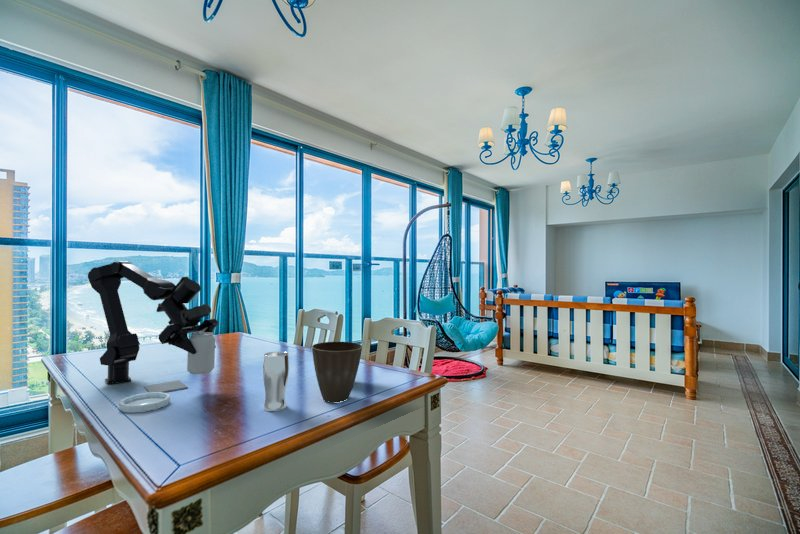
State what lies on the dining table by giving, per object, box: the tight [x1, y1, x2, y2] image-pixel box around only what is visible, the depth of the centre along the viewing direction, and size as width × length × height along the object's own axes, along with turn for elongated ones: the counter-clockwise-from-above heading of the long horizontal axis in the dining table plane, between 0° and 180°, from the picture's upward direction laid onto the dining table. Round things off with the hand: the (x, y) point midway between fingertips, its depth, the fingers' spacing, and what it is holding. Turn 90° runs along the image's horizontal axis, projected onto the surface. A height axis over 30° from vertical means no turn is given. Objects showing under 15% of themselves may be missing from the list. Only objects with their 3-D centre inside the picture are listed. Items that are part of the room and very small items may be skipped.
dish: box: [118, 392, 171, 414], centre depth 105 cm, size 11×11×2 cm
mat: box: [143, 380, 189, 393], centre depth 121 cm, size 10×10×1 cm
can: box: [186, 332, 216, 375], centre depth 118 cm, size 8×8×12 cm
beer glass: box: [262, 351, 290, 413], centre depth 105 cm, size 7×7×15 cm
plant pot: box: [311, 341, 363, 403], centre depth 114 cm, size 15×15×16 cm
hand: (205, 350), depth 117 cm, fingers closed on can, 7 cm apart
